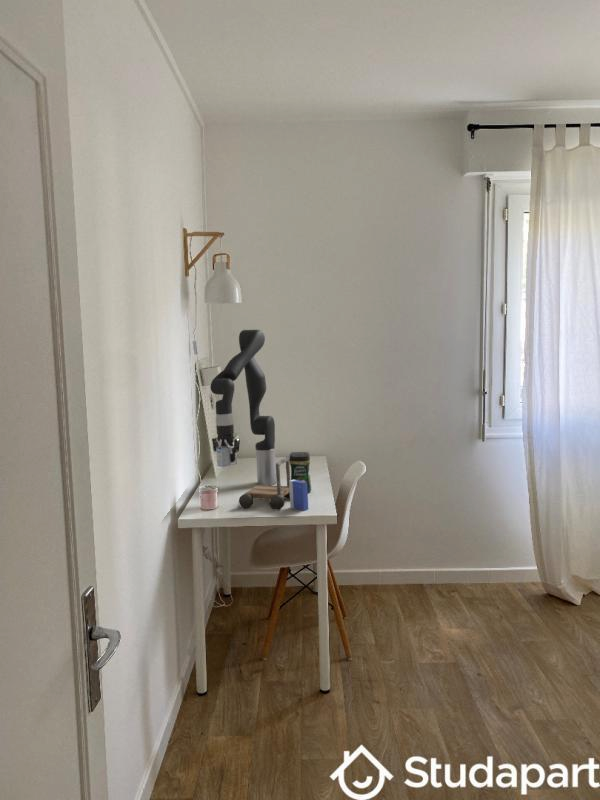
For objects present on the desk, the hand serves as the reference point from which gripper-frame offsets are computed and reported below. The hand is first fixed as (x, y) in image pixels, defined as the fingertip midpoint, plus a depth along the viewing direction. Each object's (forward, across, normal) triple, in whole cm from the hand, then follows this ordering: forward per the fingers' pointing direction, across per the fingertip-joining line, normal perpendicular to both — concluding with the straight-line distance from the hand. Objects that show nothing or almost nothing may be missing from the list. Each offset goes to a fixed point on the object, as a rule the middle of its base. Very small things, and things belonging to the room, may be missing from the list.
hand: (227, 461), depth 288 cm
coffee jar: (+18, -24, -23) cm, 37 cm away
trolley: (+18, -20, -2) cm, 27 cm away
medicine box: (+2, 0, 0) cm, 2 cm away
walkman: (+18, -36, 0) cm, 41 cm away
